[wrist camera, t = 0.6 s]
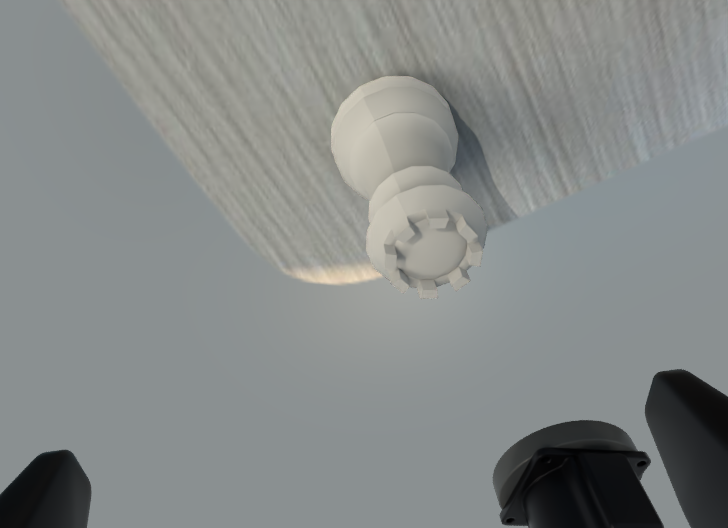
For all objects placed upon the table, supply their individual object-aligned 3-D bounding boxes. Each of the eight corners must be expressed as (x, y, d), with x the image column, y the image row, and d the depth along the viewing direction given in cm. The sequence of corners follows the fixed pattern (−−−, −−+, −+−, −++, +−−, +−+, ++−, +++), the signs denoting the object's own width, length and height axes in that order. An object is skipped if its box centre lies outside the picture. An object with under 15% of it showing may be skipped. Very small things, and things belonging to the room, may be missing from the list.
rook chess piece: (304, 116, 21) (310, 243, 14) (414, 43, 20) (474, 146, 13) (370, 206, 23) (401, 350, 17) (472, 146, 22) (546, 275, 16)
